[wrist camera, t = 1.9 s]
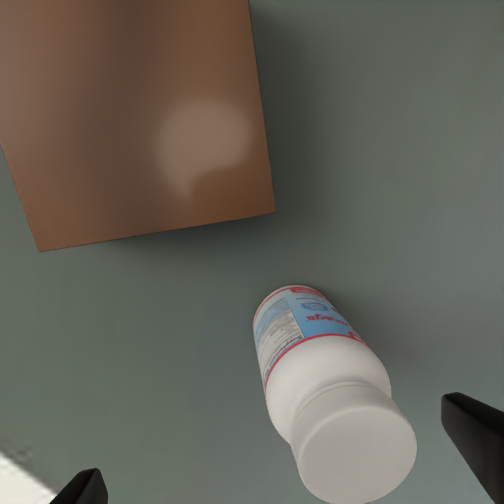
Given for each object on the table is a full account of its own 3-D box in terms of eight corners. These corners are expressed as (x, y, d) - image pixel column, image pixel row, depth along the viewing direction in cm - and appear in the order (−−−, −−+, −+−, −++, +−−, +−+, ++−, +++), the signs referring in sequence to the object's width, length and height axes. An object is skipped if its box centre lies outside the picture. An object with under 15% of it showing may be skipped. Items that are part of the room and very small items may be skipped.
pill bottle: (346, 314, 22) (468, 443, 11) (293, 370, 23) (358, 543, 12) (289, 265, 20) (363, 358, 10) (234, 326, 21) (246, 478, 10)
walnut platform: (235, -14, 16) (238, -75, 12) (266, 207, 19) (276, 212, 15) (6, 14, 16) (-65, -43, 12) (76, 238, 19) (38, 252, 15)
